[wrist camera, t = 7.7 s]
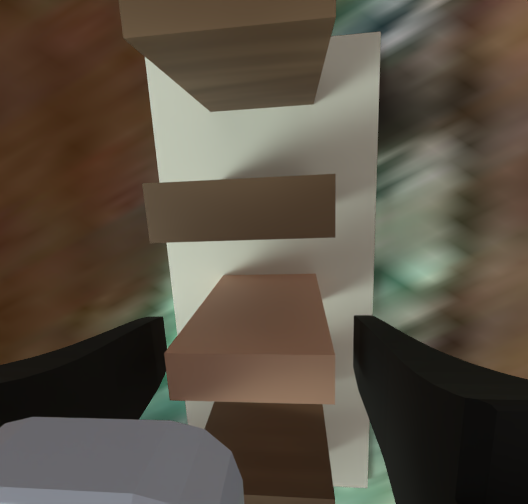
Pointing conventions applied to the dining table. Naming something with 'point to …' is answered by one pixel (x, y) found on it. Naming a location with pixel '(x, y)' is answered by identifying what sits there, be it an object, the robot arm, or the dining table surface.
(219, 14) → the domino
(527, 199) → the dining table surface
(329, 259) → the board
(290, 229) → the domino
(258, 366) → the domino
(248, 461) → the domino
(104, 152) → the dining table surface
